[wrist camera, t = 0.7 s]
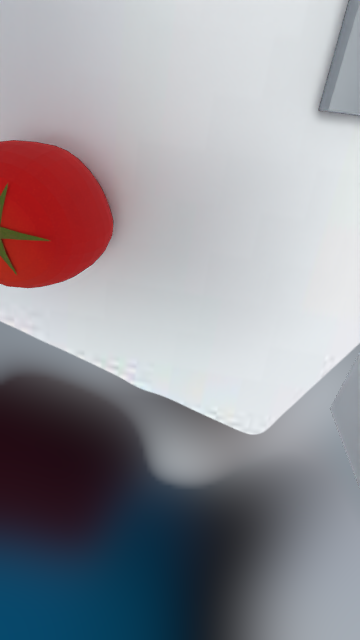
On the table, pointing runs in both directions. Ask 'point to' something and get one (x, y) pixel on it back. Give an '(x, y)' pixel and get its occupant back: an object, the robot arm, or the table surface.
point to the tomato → (48, 215)
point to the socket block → (345, 67)
